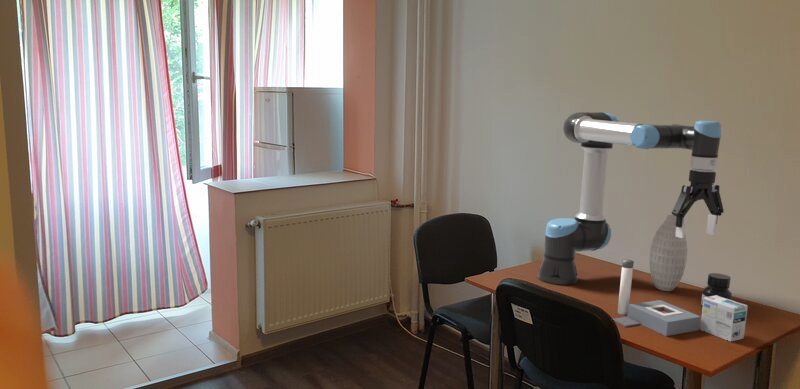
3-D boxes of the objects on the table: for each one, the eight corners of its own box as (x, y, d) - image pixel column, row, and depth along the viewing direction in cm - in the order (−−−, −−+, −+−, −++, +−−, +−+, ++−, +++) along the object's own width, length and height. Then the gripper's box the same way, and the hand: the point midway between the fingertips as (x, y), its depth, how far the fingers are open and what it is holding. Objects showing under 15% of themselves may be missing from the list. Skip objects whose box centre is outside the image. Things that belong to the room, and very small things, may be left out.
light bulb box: (744, 338, 188) (749, 305, 187) (730, 342, 185) (735, 308, 183) (712, 326, 198) (716, 294, 196) (698, 330, 194) (702, 297, 192)
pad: (611, 320, 200) (611, 318, 200) (625, 318, 202) (626, 316, 202) (625, 327, 194) (625, 325, 194) (639, 324, 197) (640, 323, 197)
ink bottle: (695, 304, 218) (699, 271, 216) (718, 304, 219) (723, 271, 217) (711, 314, 208) (715, 280, 206) (736, 314, 209) (740, 280, 207)
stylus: (615, 311, 208) (620, 259, 205) (623, 310, 209) (628, 259, 206) (622, 315, 205) (627, 262, 202) (630, 314, 206) (636, 261, 203)
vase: (647, 281, 243) (655, 211, 238) (683, 286, 238) (691, 214, 233) (645, 290, 232) (653, 216, 227) (682, 296, 226) (691, 220, 222)
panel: (627, 317, 202) (628, 304, 202) (658, 312, 208) (660, 299, 207) (666, 336, 188) (667, 321, 187) (698, 330, 194) (700, 315, 193)
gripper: (683, 172, 187) (675, 241, 190) (741, 170, 197) (732, 236, 200) (664, 169, 194) (656, 235, 197) (720, 167, 204) (712, 230, 207)
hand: (695, 236), depth 199 cm, fingers open, 13 cm apart
